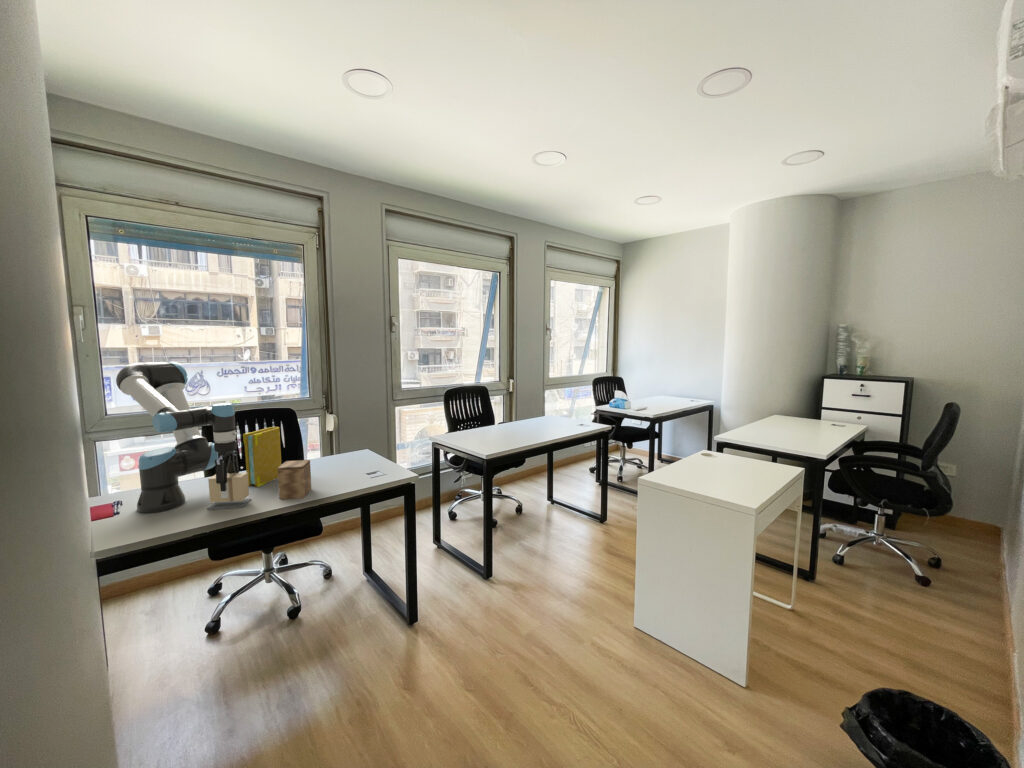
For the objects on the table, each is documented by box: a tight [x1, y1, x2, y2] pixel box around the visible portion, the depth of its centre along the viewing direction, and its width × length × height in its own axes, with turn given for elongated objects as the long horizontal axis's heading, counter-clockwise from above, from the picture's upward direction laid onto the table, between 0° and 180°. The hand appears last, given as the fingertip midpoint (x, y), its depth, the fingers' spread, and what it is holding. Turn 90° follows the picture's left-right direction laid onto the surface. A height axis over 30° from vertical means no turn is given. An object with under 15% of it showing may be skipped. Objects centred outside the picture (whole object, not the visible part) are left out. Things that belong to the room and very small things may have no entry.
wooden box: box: [277, 459, 312, 500], centre depth 180 cm, size 10×10×14 cm
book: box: [242, 426, 282, 488], centre depth 196 cm, size 17×7×25 cm, turn 168°
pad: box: [206, 498, 252, 511], centre depth 168 cm, size 13×8×1 cm, turn 101°
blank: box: [207, 472, 250, 503], centre depth 168 cm, size 12×6×10 cm, turn 101°
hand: (229, 494), depth 168 cm, fingers closed on blank, 6 cm apart
